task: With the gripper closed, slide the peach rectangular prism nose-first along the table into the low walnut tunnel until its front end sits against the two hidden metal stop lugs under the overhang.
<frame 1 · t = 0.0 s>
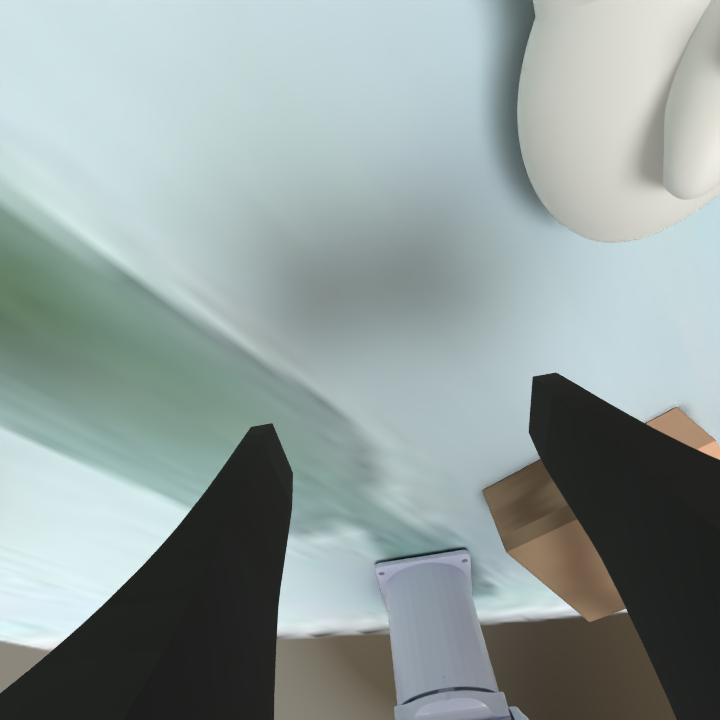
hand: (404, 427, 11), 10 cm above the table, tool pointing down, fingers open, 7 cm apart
peach rectangular prism: (647, 471, 28), on the table
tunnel: (559, 514, 30), on the table
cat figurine: (601, 8, 14), on the table
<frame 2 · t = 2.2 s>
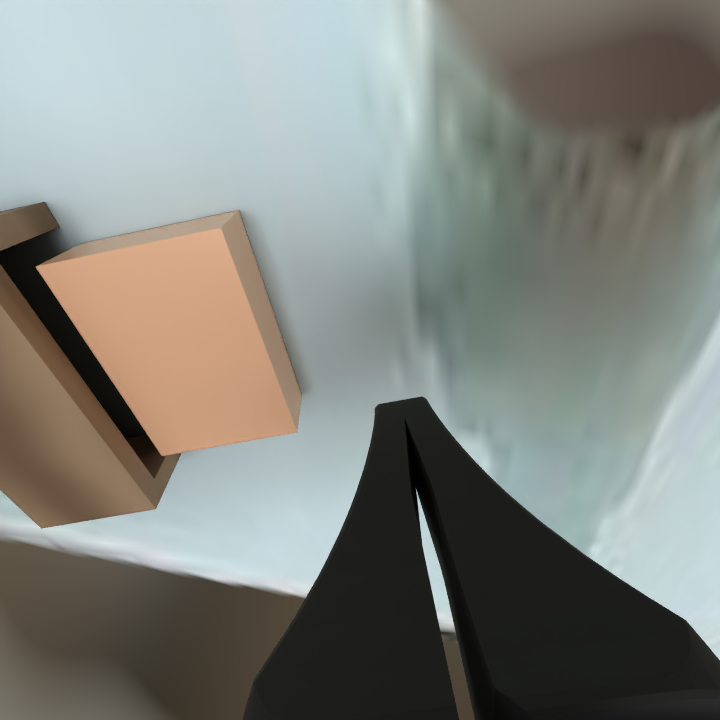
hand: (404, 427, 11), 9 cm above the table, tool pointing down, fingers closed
peach rectangular prism: (206, 329, 19), on the table
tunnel: (72, 355, 19), on the table
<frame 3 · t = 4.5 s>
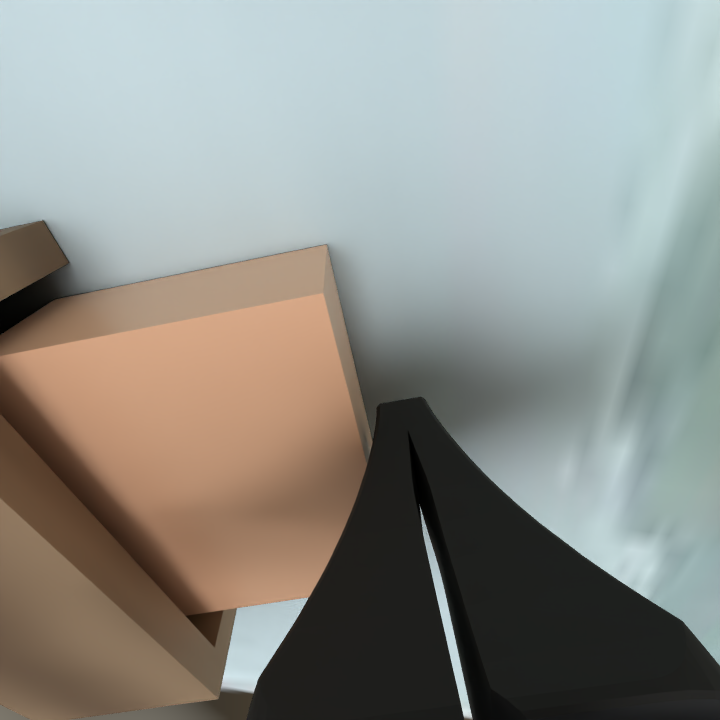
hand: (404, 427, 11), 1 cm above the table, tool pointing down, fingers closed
peach rectangular prism: (254, 422, 12), on the table, touching gripper
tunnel: (87, 452, 12), on the table
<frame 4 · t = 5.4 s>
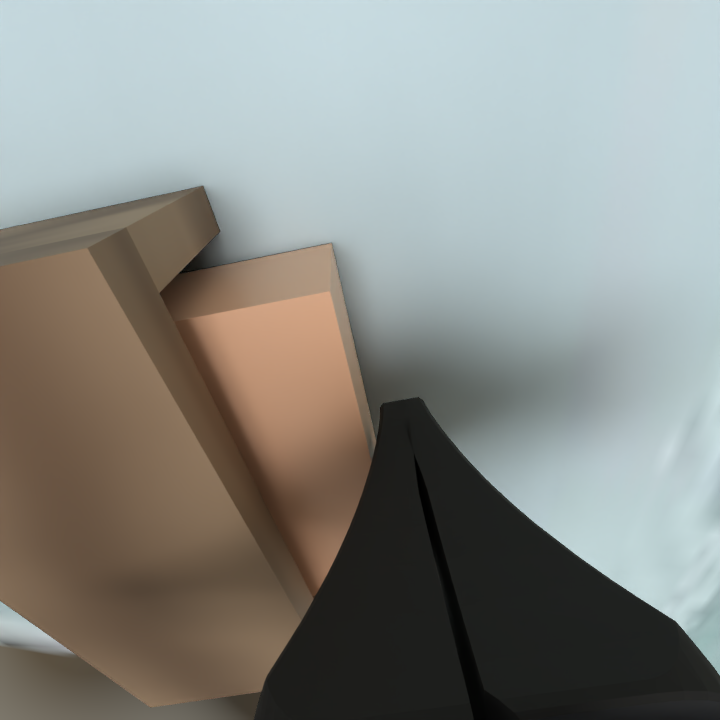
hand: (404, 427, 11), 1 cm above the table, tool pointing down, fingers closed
peach rectangular prism: (258, 420, 12), on the table, touching gripper, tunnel
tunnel: (198, 432, 12), on the table
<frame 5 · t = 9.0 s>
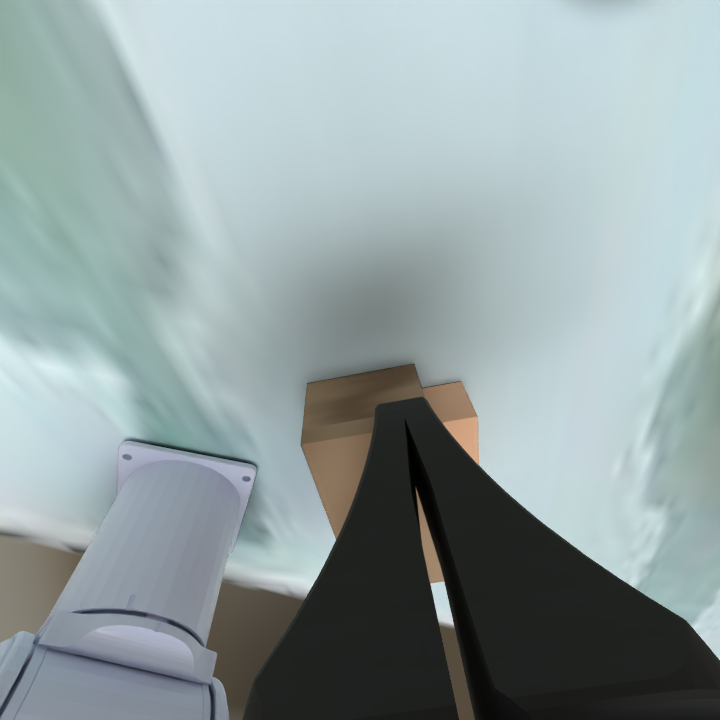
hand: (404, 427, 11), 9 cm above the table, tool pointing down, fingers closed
peach rectangular prism: (410, 453, 25), on the table
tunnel: (379, 458, 25), on the table
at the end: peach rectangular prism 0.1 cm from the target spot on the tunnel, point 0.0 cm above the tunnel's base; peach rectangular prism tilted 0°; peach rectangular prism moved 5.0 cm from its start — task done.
